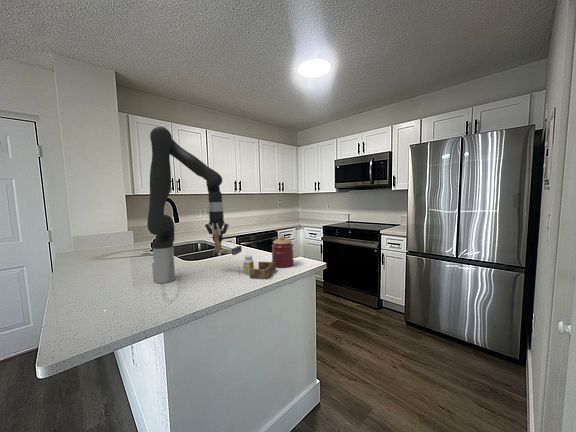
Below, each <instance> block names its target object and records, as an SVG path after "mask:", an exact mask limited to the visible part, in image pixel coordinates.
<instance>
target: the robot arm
mask: <svg viewBox="0 0 576 432" xmlns="http://www.w3.org/2000/svg"><path fill="white" fill-rule="evenodd" d="M149 137H150V139H149V140H150V143H151V162H150V169H149V204H148V206H149V207H148V215H147V224H146V225H147V230H148V232H149V233H150V234H151V235H154V236H156V238H155V240H154V241H152V256H153V257H152V259H153V262H152V263H151V266H152V279H153V282H154V283H156V284H166V283H170V282H173V281H175V280H176V270H175V267H176V266H175V254H174V252H175V250H174V241H175V222H174V219H173V217H171V216H170V215H168V214H165V206H166V203H167V199H168V197H169V195H170V193H171V190H172V171H171V162H170V161H171V159H170V158H171V157H170V156H172V157H173V158H175V159H176V160H178V161H179V162H180V163H181V164H182V165H184V166H185V167H186V168H188V169H189V170H190V171H191V172H192V173H193V174H195V175H196V176H198V177H201V178H202V179H204V181H206V188H207V189H206V190H207V193H208V216H209V217H208V218H209V221H208V223H206V224H204V227H205V228H206V230H207V232H208V233H209V235H212V241H213V243H215V240H214V230H215V229H217V230H218V233H219V242H221V243H222V242H223V240H224V238H223V235H225V234H226V233H227V230H228V228H229V226H230V225H229V224H230V223H226V222H225V220H224V218H225V217H224V215H225V214H224V205H223V194H222V192H221V190H220V189H221V188H220V186H221V185H222V184H223V177H222V176H221V174H220V173H218V172H217V171H215V170H214V169H212V168H211V167H209V166H208V165H206V164H205V163H204V162H203V161H202V160H200V159H199V158H198V157H196V155H193V154H191V153H190V152H189V151H187V150H186V149H184V147H182V146H180V145H179V144H178V143H177V142H176V141H175V140H174V139H173V137H172V134H171V132H170V130H168V128H166V127H164V126H156V127H154V128H153V129H152V130H151V131H150V135H149Z"/></svg>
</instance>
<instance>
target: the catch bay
mask: <svg viewBox="0 0 576 432" xmlns="http://www.w3.org/2000/svg"><path fill="white" fill-rule="evenodd" d="M276 270H277V267H276V262H272V261H258V268H254V269H250V270H249V271H250V275H249V279H253V280H254V279H256V280H257V279H258V280H269V279H270V277H271V276H272V275H273V274H274V272H276Z"/></svg>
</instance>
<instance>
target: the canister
mask: <svg viewBox="0 0 576 432" xmlns="http://www.w3.org/2000/svg"><path fill="white" fill-rule="evenodd" d="M272 243H273V244H272V245H271V249H272V251H271V256H272V257H271V260H272V261H271V262H276V268H278V269H284V268H285V269H286V268H291V267H292V266H294V249H293V247H294V244H292V240H290V238H285V236H284V235H280V237H279V238H276V239H275V240H273V241H272Z"/></svg>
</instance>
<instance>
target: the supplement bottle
mask: <svg viewBox="0 0 576 432" xmlns="http://www.w3.org/2000/svg"><path fill="white" fill-rule="evenodd" d="M254 263H255V262H254V259H253V255H251V254H250V255H249V254H248V255H244V259H243V274H244V275H245V276H250V271H249V270H250V269H255V267H254V266H255V265H254Z"/></svg>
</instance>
